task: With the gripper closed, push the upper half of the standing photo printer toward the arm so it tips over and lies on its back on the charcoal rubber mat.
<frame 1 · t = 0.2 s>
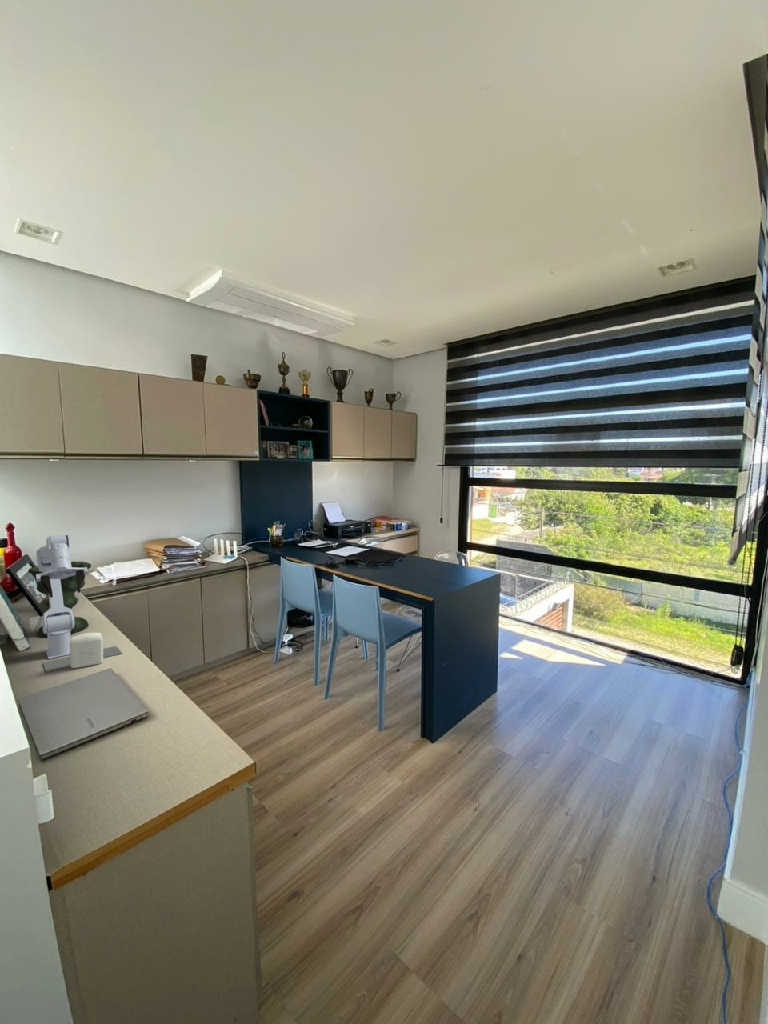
hand: (65, 593, 145), 31 cm above the table, tool tilted 45°, fingers open, 7 cm apart
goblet: (63, 630, 193), on the table
photo printer: (87, 664, 159), on the table, touching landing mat
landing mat: (83, 658, 164), on the table
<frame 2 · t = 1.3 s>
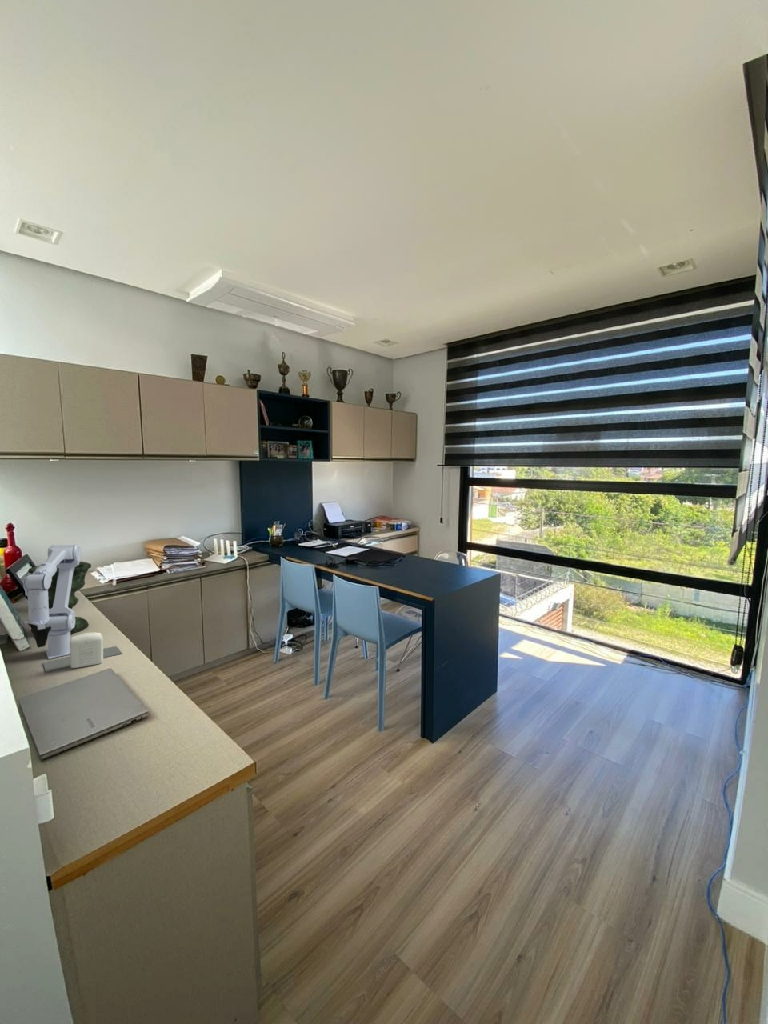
hand: (40, 643, 152), 10 cm above the table, tool pointing down, fingers open, 7 cm apart
nothing on the table moved.
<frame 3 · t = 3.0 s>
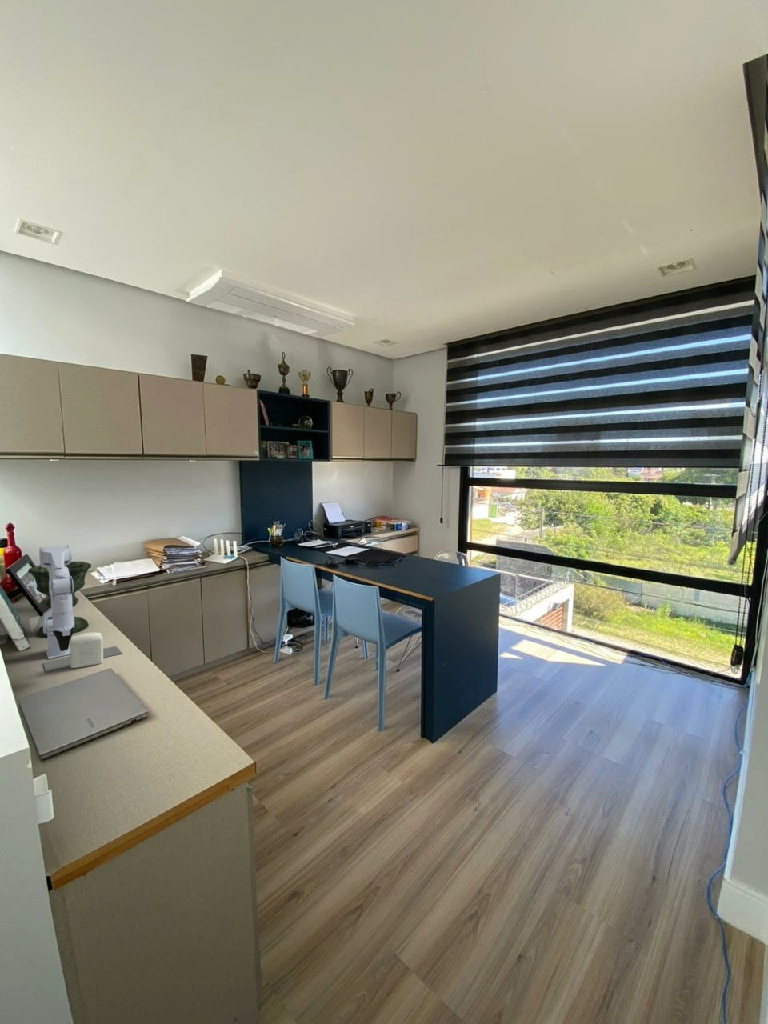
hand: (64, 649, 147), 10 cm above the table, tool pointing down, fingers closed
nothing on the table moved.
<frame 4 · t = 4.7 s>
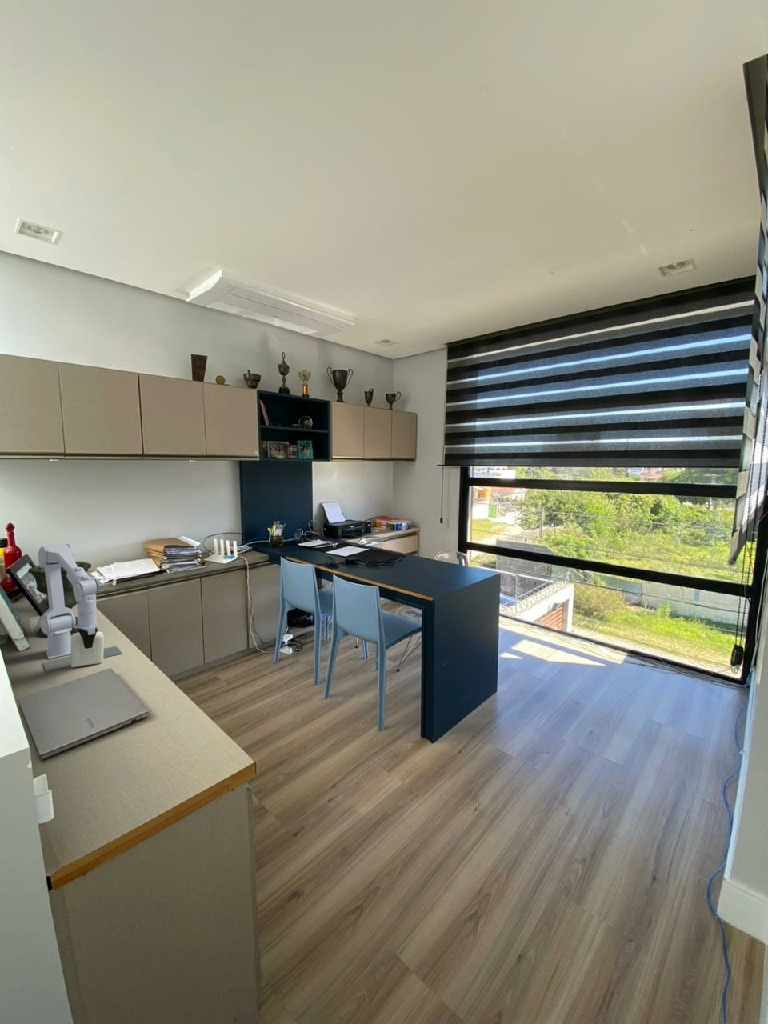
hand: (88, 647, 155), 8 cm above the table, tool pointing down, fingers closed
photo printer: (87, 664, 159), on the table, touching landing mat
everything else where it was.
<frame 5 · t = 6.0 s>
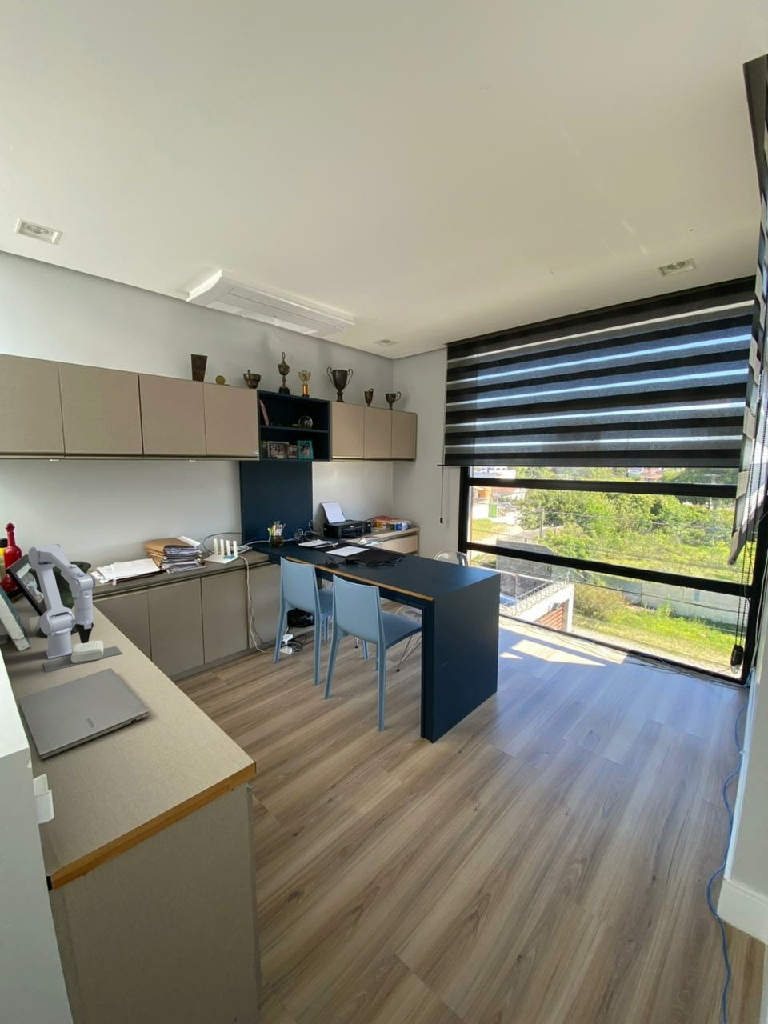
hand: (84, 642, 160), 8 cm above the table, tool pointing down, fingers closed
photo printer: (87, 656, 160), point 3 cm above the table, touching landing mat
everything else where it was.
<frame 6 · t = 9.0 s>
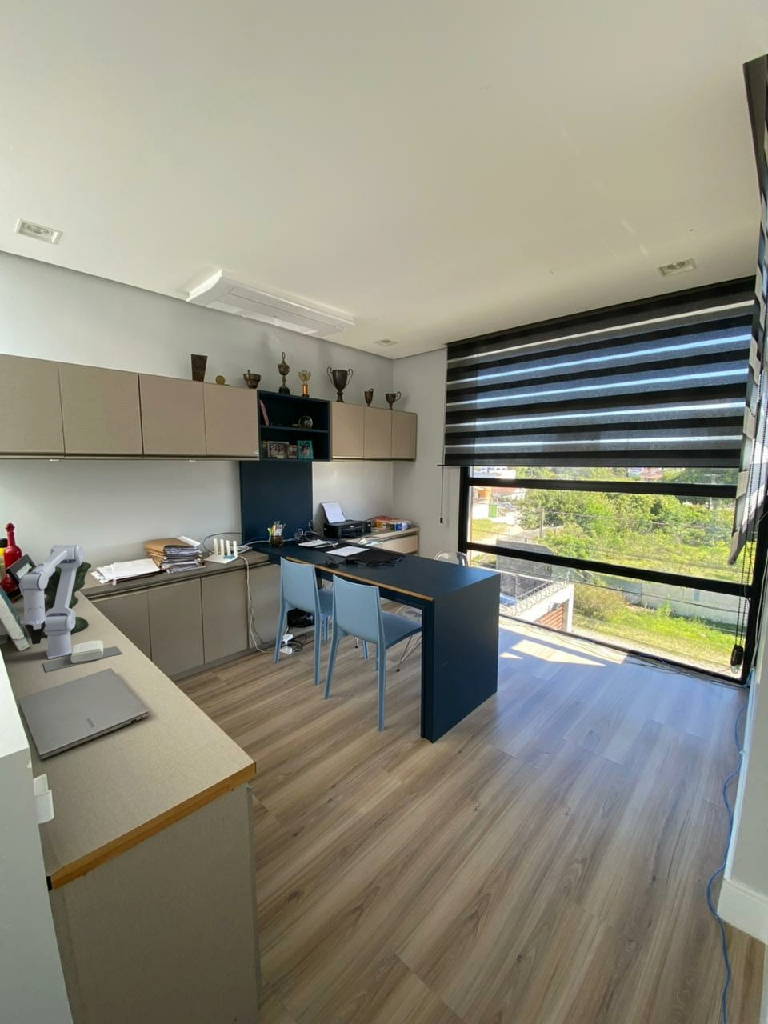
hand: (36, 643, 152), 10 cm above the table, tool pointing down, fingers closed
nothing on the table moved.
at the end: photo printer tilted 91°; photo printer touching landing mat; photo printer inside the target area on the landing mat (0.5 cm from its centre), point 2.6 cm above the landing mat's base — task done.
